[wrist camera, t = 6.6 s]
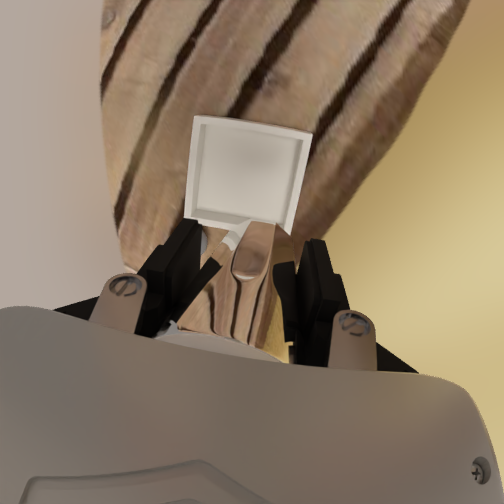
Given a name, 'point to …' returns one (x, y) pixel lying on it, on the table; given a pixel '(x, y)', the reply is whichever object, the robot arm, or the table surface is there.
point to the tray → (244, 171)
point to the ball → (203, 243)
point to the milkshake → (242, 299)
